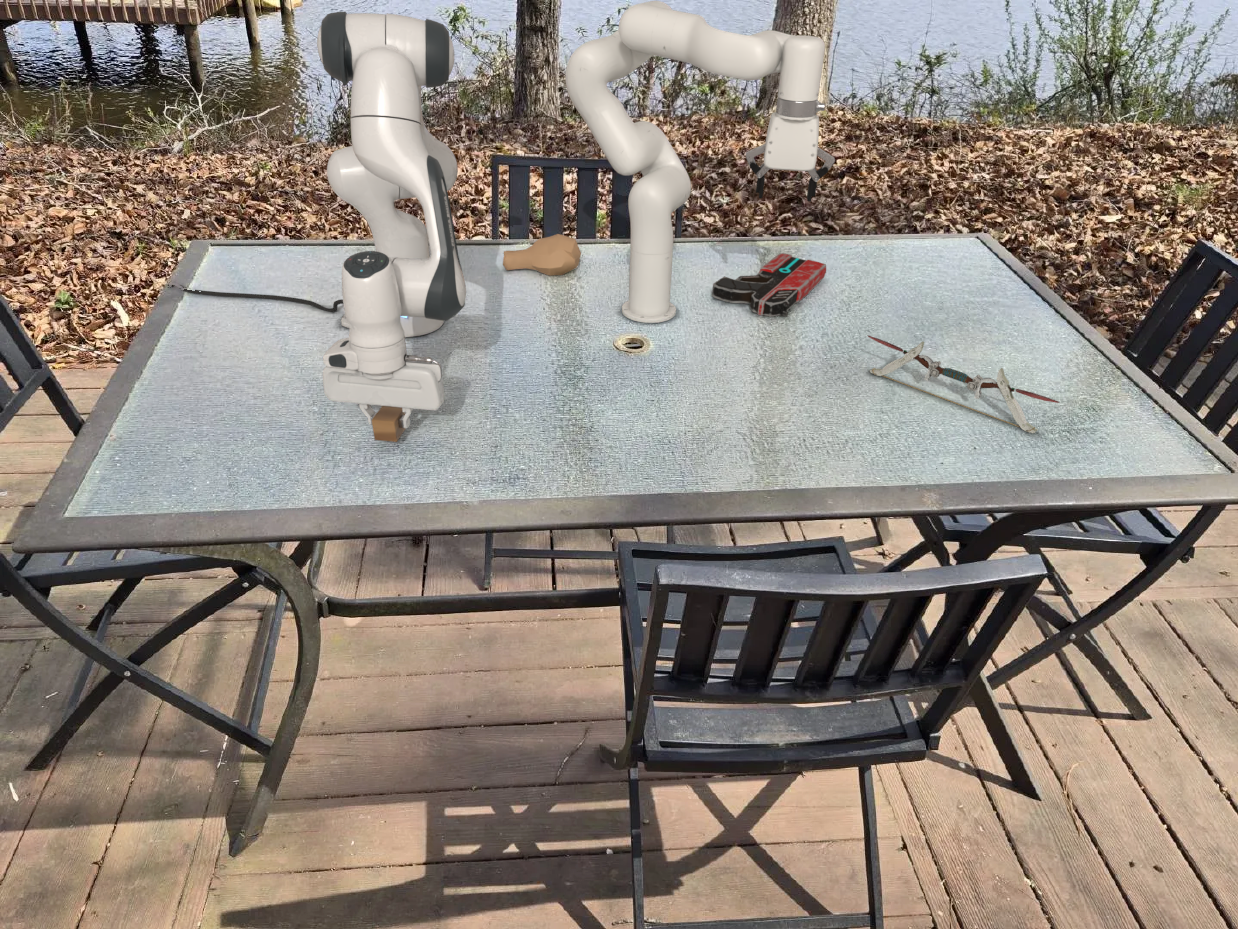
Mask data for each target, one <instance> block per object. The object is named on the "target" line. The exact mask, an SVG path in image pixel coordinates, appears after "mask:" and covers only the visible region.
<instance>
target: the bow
mask: <svg viewBox="0 0 1238 929" xmlns="http://www.w3.org/2000/svg"><path fill="white" fill-rule="evenodd" d="M867 337H868V338H870V339H871V340H873V341H875V342H876V343H879V344H881V345H882V346H885V347H887V348H890V349H893V350H895V351H898V352H901V353H902V354H904V355H903V356H902V357H898V358H897V359H894V360H893V361H890V362H888V363H887V364H886V365H885V366H884V367H882V368H876V367H873V368H871V369H869V372H870V374H872V375H874V376H877V377H882V378H886V379H889V380H892V381H894V382H897V383H899V384H902V385H905V386H907V387H909V388H910V387H911V388H913V389H916V390H918V391H921V392H924V393H926V394H929V395H931V396H935V397H936V398H940V399H941V400H945V401H947V402H948V401H949V402H951V403H952V404H956V405H958V406H962V407H964V408H967V409H968V410H972V411H975V412H978V413H980V414H982V415H985V416H988V417H991V418H994V419H996V420H998V421H1001V422H1004V423H1007V424H1009V425H1012V426H1015V427H1017V428H1020V429H1021V430H1022V431H1024V432H1027V433H1030V434H1036V432H1038V430H1039V429H1038V428H1036V427H1035V426H1033V425H1032V424H1031V423H1029V422H1028V421H1027V419H1026V416H1025V413H1024V411H1023V409H1022V407H1021V406H1020V404H1019V402H1018V401H1017V399H1016V398H1015V397H1014V394H1013V393H1014V392H1015V393H1017V394H1021V395H1023V396H1026V397H1029V398H1033V399H1035V400H1040V401H1044V402H1050V403H1056V404H1060V401H1059V400H1056V399H1052V398H1050V397H1047V396H1044V395H1041V394H1038V393H1035V392H1031V391H1028V390H1024V389H1019V388H1015V387H1011V385H1010V381H1009V380H1008V378H1007V377H1006V374H1005V370H1004V368H1003V367H1000V368H999V370H998V371H997V376H996V380H995V379H994V378H991V377H984V378H983V376H981V375H980V374H977V375H976V376H974V377H973V378H972V377H970V376H969V375H968V374H967V373H965V372H963V371H959V370H956V369H954V368H951V367H941V365H942V362H941V360H938V361H936V360H935V361H934V360H933V359H932V358H931V357H930V356H928V355H926V354H921V353H922V351H923V349H924V347H925V341H921V342H920V343H919V344H917V345H916V347H913V348H911V349H910V350H909V351H907V350H906V349H903V348H901V347H899V346H898V345H895V344H893V343H891V342H888V341H886V340H883V339H880V338H877V337H874V336H871V335H868V334H867ZM914 361H917V362H918V363H920V365H922V366H923V367H924V368H926V369H927V372H926V374H925V375H924V378H923V381H927V382H928V381H929V380H931V377H933V378H935V379H937V378H938V377H940V376H941V375H942V376H944V377H947V378H949V379H953V380H956V381H958V382H961V383H964V384H966V385H967V386H966V388H967V389H968V390H969V391H971V392H975V393H974V399H975V400H979V399H981V398H982V389H997V390H998V391H999V393H1000V394H1001V396H1002V398H1003V399H1004V401H1005V402H1006V405H1007V408H1008V410H1009V411H1010V413H1011V415H1012V417H1013V419H1014V421H1015V422H1016V424H1014V423H1012V422H1009V421H1007V420H1004V419H1002V418H1000V417H999V418H998V417H996V416H994V415H991V414H988V413H985V412H982V411H980V410H977V409H974V408H971V407H969V406H966V405H964V404H960V403H958V402H955V401H953V400H950V399H947V398H945V397H942V396H939V395H937V394H934V393H931V392H929V391H926V390H925V389H924V390H923V389H921V388H918V387H915V386H912V385H910V384H908V383H905V382H902V381H899V380H896V379H893V378H891V377H888V376H886V375H888V374H892V373H894V372H895V371H897V370H898V369H900V368H901V367H903V366H905V365H907V364H909V363H911V362H914Z"/></svg>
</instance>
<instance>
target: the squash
mask: <svg viewBox="0 0 1238 929" xmlns="http://www.w3.org/2000/svg"><path fill="white" fill-rule="evenodd" d="M581 255H582V252H581V250H580V247H579V245H578V242H577V240H576V238H573V237H570V236H567V235H564V234H560V233H556V234H554V235H550V236H546V237H542V238H539V239H537V240H536V241H535V242H534V243H533V244H532V245H531V246H529V247H527V248H525V249H518V250H504V251H503V259H502V266H503V267H504V269H505V270H506V271H513V270H522V269H528V270H534V271H536V272H539V273H540V274H543V275H546V276H563V275H565V274H568V273H569V272H571V271H573V270H575V269H577V268H578V266H579V265H580V260H581Z"/></svg>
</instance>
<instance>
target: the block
mask: <svg viewBox="0 0 1238 929" xmlns="http://www.w3.org/2000/svg"><path fill="white" fill-rule="evenodd" d="M376 413H377V414H376V415H375V416H374V418H373V419H372V425H371V426H372V429H373V438H374V441H382V442H393V443H397V442H398V441H399V440H400V438H401V436H402V435H403V434H404V432H405V430H406V429H407V428H399V424H398V419H399V418H400V416H401V415H405V414H406V412H403V410H402V408H401V407H390V406H380V408H379V409H378V411H377V412H376Z"/></svg>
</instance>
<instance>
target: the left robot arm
mask: <svg viewBox="0 0 1238 929" xmlns="http://www.w3.org/2000/svg"><path fill="white" fill-rule="evenodd" d="M320 24H321V25H320V27H319V29H318V33H317V38H316V47H317V48H316V49H317V53H318V55H319V59H320V62H321V63H322V67H323V70H324V71H325V72H326V73H327V74H328V75H329V76H330V77H331V78H333V79H335V80H337V81H339V82H341V84H342V85H345V86H347V85H348V84H349V82H352V83H351V91H350V92H351V93H350V137H351V138H350V139H351V145H350V146H346V147H343V148H340V149H337V150H334V151H333V152H332V153H331V155H330V157H329V159H328V162H327V166H326V176H327V181H328V184H329V186H330V188H331V189H332V192H334V194H335V195H336V196H337V197H339V198H340V199H341V200H342V201H344V202H346V203H347V204H348V205H351V206H352V207H353V208H355V209H356V210H357V211H358V212H359V213H360V214H361V215H362V217H363V218H364V220H365V221H366V222H367V224H368V227H369V229H370V231H371V235H372V240H373V243H374V248H375V250H365V251H359V252H356V253H354V254H352V255H350V256H348V257H347V258H346V259H345V260H344V262H343V263H342V268H341V295H342V299H336V300H335V301H334V302H333V304H332V307H331V308H328V307H326V306H323V305H321V304H319V303H317V302H315V301H312V300H308V299H304V298H298V297H290V296H285V295H275V294H262V293H261V294H260V293H259V294H258V293H245V292H244V293H242V292H226V291H225V292H223V291H211V290H199V289H195V291H192V290H187V289H184V290H183V292H185V293H188V294H189V293H190V294H193V295H194V294H195V295H200V296H201V295H203V296H214V297H223V298H224V297H225V298H243V299H259V300H260V299H262V300H274V301H276V300H277V301H284V302H292V303H298V304H304V305H308V306H312V307H314V308H316V309H319V310H322V311H324V312H328V313H335V312H337V311H338V306H339V305H343V311H344V314H343V316H342V317H341V320H340V324H341V326H342V327H344V328H347V329H349V331H348V337H344V338H340V339H338V340H336V341H335V342H334V343H333V344H332V345H331V346H329V348H328V349H327V350H326V351H325V352H324V354H323V356H322V363H323V365H324V366H325V367H324V368H323V370H322V386H323V392H324V396H325V397H326V398H327V399H328V400H329V401H330V402H336V403H346V404H347V403H348V404H356V405H357V404H358V406H359V410H360V411H361V412H362V413H363V415H364V416H366V418H367V421H368V422H367V423H368V426H373V425H372V419H373V418H374V416H375V415H376V414H377V412H375V410H374V409H373V406H380V407H382V406H390V407H401V408H402V410H403V412H405V415H401V416H400V418H399V419H398V424H399V428H406V429H409V427H411V426H410V425H411V420H410V419H411V417H410V416H411V414H412V412H413V411H414V410H423V411H424V410H425V411H438V410H439V408H441V407H442V405H443V404H444V402H445V400H446V393H445V386H444V383H443V369H442V368H443V367H442V365H441V363H439V361H437V360H435V359H434V358H433V357H431V356H419V355H414V354H413V355H412V354H408V350H407V342H406V338H412V337H420V336H423V335H427V334H430V333H431V334H432V333H434V332H436V331H437V330H439V329H441V327H442V326H443V325H444V323H445V322H447V321H449V320H451V319H452V318H454V317H455V316H456V315H457V314H458V313H460V312H461V311H462V310H463V308H464V307H465V305H466V300H467V285H466V280H465V277H464V273H463V269H462V265H461V264H462V263H461V260H460V255H459V252H458V244H457V239H456V234H455V227H454V222H453V221H454V220H453V215H452V209H451V203H450V198H449V193H448V192H449V191H451V190H452V188H453V187H454V186H455V184H456V182H457V179H458V173H459V172H458V171H459V169H458V168H459V167H458V161H457V159H456V156H455V154H454V152H453V151H452V149H451V148H450V147H449V146H448V145H447V144H446V143H444V142H442V140H439V139H438V138H436V136H433V134H432V133H430V131H429V130H428V129H427V127H426V124H425V122H424V116H423V107H422V87H425V88H426V89H431V88H438V87H442V86H444V85H445V84H446V83H447V82H448V81H449V80H450V79H449V78H450V76H451V73H452V71H453V68H454V65H455V57H456V56H455V47H454V44H453V40H452V38H451V36H450V32H449V30H448V28H447V27H446V26H445V25H444V24H443V23H441V22H438V21H435V20H432V19H429V18H426V19H425V20H424V19H420V18H416V17H411V16H407V15H403V14H402V15H401V14H395V13H374V12H373V13H371V12H370V13H368V12H367V13H366V12H363V13H362V12H361V13H360V12H359V13H357V12H355V13H354V12H353V13H347V11H336V12H330V13H327V14H326V15H325V16H324V17H323V18H322V19H321V23H320ZM415 198H416V199H417V201H418V202H419V203H420V205H421V208H422V210H423V215H424V216H423V217H424V221H425V223H424V222H423V221H422V220H421V219H420V218H419V217H417V216H415V215H414V214H410V213H408V212H404V211H402V210H400V209H399V208H397V207H395V201H398V200H405V199H415ZM167 286H169V283H168V284H167ZM199 291H201V292H199Z"/></svg>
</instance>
